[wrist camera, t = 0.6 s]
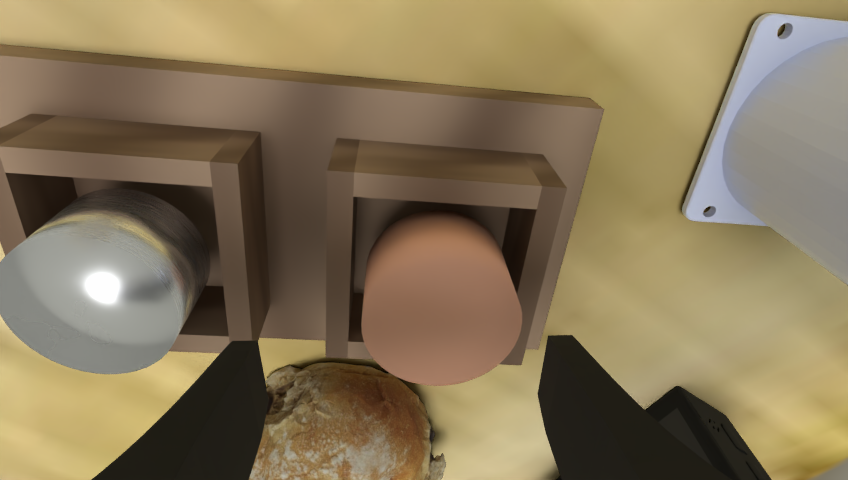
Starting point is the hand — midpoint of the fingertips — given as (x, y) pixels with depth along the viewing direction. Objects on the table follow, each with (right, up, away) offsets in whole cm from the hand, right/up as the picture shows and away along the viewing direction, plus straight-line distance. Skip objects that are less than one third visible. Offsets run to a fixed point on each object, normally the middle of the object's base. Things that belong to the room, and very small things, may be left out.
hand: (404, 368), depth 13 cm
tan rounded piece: (+1, +2, +5) cm, 6 cm away
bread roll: (-4, -6, +15) cm, 17 cm away
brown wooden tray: (-4, +4, +8) cm, 10 cm away
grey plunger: (-9, +3, +4) cm, 10 cm away
